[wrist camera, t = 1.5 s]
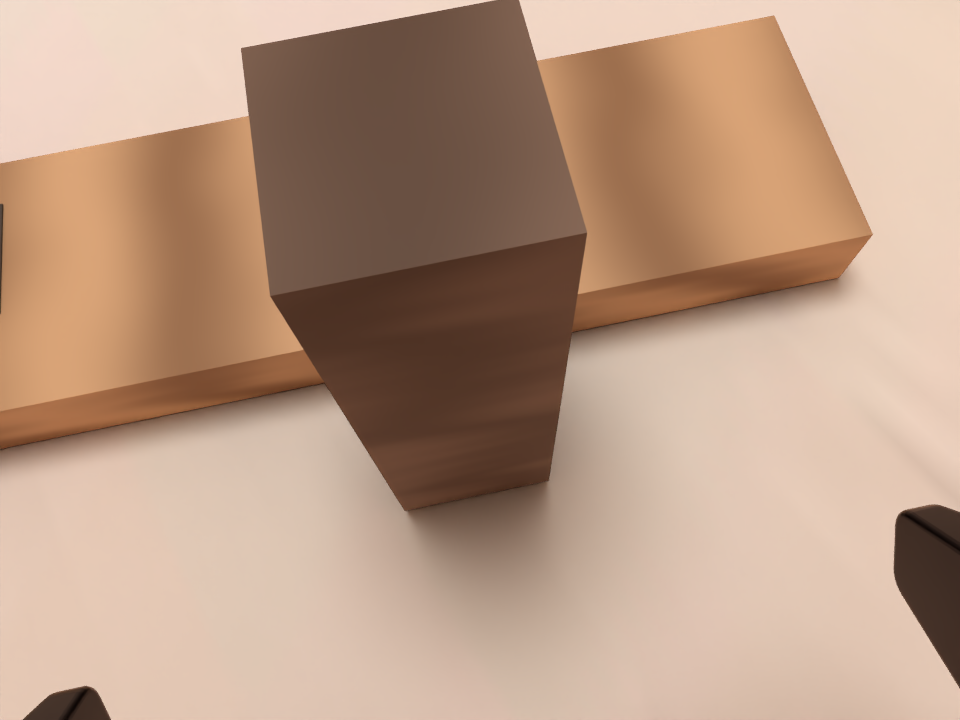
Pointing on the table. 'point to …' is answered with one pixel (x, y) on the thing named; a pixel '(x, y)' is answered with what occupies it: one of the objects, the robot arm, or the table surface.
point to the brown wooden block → (423, 239)
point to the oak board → (241, 255)
